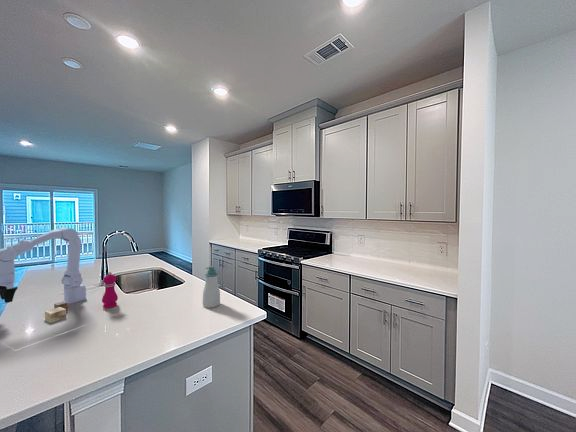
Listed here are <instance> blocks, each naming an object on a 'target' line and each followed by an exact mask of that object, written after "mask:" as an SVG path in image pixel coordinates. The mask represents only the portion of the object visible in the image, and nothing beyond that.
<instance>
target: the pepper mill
mask: <svg viewBox="0 0 576 432" xmlns="http://www.w3.org/2000/svg"><path fill="white" fill-rule="evenodd" d="M102 281H103V283H104V284H103V285H104V287H105V288H104V289H105V290H104V294H103V295H102V298H101V302H102V307H103V309H112V308H115V307H117V303H118V302H117V301H118V299H119V298H118V297H119V296H118V294H117V293H116V289H115V286H116V281H117V276H116V275H115V274H113V273H112V272H111V271H108V272H107V275H105V276H104V277H103V279H102Z"/></svg>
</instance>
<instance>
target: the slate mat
mask: <svg viewBox="0 0 576 432" xmlns="http://www.w3.org/2000/svg"><path fill="white" fill-rule="evenodd" d="M66 318H68V316H67V315H66V317H65V318H61V319H58V320H55V321H52V322H50V321H48V320H46V319H45V318H43V320H44V321H46V322H48V323H53V322H56V321H59V320H63V319H66Z"/></svg>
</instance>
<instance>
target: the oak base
mask: <svg viewBox="0 0 576 432" xmlns="http://www.w3.org/2000/svg"><path fill="white" fill-rule="evenodd" d="M66 316H67V311H66V309H64V308H62V307H58V308H55V309H54V308H52V309H47V310H44V319H46V320H48V321H50V322H51V323H53V322H52V321H54V322H56V321H55V320H57V321H59V320H58V319H60V320H62V319H61V318H63V319H66V318H67V317H66ZM65 317H66V318H65ZM48 321H47V322H48ZM50 322H49V323H50Z"/></svg>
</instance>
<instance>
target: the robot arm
mask: <svg viewBox="0 0 576 432" xmlns="http://www.w3.org/2000/svg"><path fill="white" fill-rule="evenodd" d="M53 239H58V240H59V239H60V240H63V241H64V242H66V243H67V244H68V251H67V253H68V254H67V266H66V271H64V272H63V277H62V278H61V284H62V285H64V286H63V297H64V299H63V300H61V301H60V302H63V301H65V302H67V303H68V305H70V304H74V303H77V302H81V301H85V300H87V287H86V285H85V284H82V283H83V280H84V279H83V277H82V273H81V270H80V262H81V260H80V259H81V249H82V248H81V247H82V239H81V237H80V236H79V232H78V231H77V230H75V229H73V228H69V227H68V228H67V227H58V228H54V229H52V230H50V231H48V232H46V233H43V234H42V235H39V236H37V237H35V238H32V239H30V240H29V239H24V240H22V239H21V240H19V241H18V242H16V243H15V244H12V245H8V246H6V248H0V299H1V300H4V302H5V304H7V303H12V302H13V300H14V296H15V294H16V291H17V290H18V288H19V287H18V286H14V285H15V283H16V282H17V281H16V276H15V275H16V273H15V270H16V269H15V259H16V258H17V257H18V256H21V255H23V254H25V253H27V252H30V251H32V250H33V249H34V248H35V246H37V245H39V244H40V245H41V244H43V243H45V242H48V241H50V240H53Z"/></svg>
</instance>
